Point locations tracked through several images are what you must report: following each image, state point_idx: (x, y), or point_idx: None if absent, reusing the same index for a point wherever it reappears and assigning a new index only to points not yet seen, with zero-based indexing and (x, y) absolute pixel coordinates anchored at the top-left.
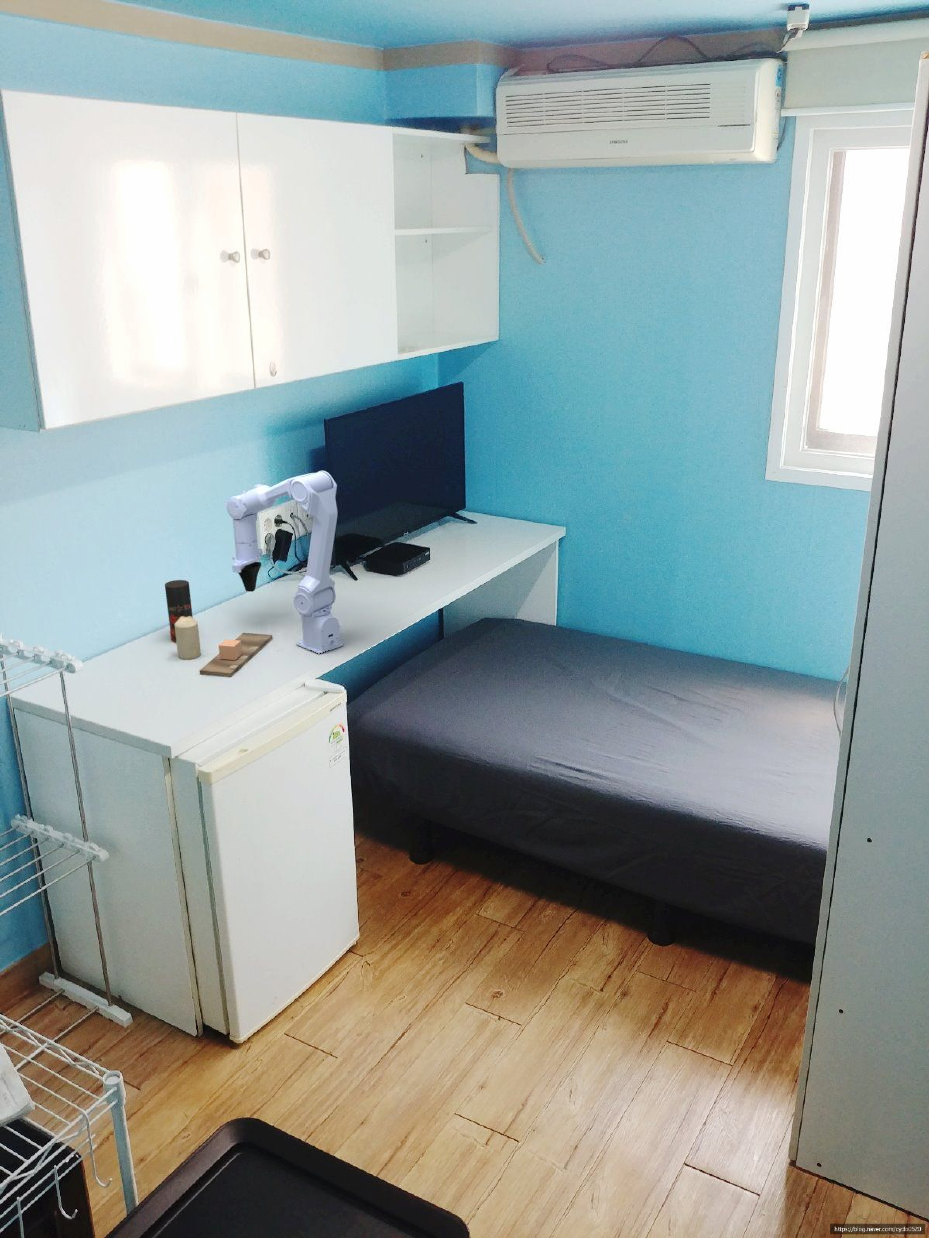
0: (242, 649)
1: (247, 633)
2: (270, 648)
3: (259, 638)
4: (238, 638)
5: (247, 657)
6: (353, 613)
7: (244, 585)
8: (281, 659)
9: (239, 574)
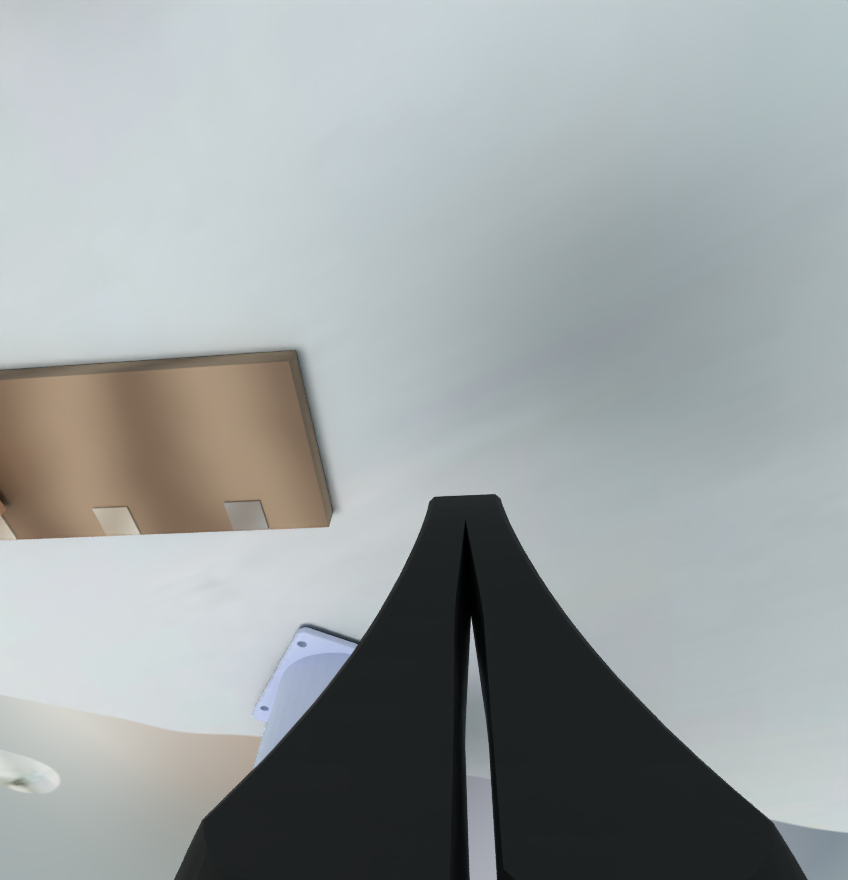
0: (68, 475)
1: (287, 393)
2: (214, 549)
3: (252, 489)
4: (186, 380)
5: (7, 538)
6: (753, 689)
7: (417, 549)
8: (137, 625)
9: (305, 720)
